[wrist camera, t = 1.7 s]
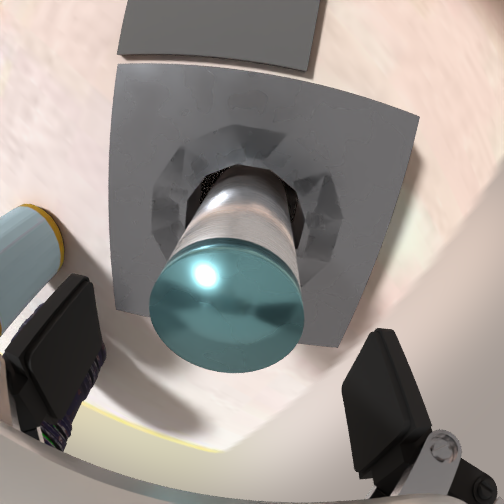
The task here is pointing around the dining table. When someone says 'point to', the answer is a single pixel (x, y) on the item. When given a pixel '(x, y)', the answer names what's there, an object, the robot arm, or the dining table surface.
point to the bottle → (26, 258)
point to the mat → (222, 30)
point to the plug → (233, 278)
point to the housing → (256, 155)
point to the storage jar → (62, 430)
